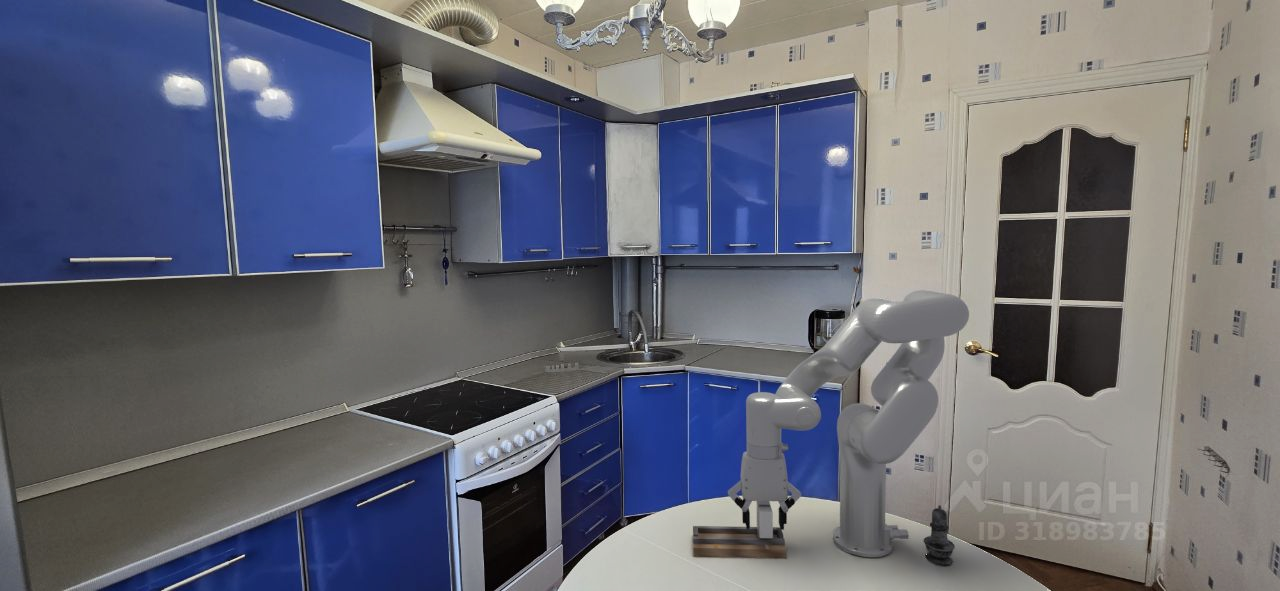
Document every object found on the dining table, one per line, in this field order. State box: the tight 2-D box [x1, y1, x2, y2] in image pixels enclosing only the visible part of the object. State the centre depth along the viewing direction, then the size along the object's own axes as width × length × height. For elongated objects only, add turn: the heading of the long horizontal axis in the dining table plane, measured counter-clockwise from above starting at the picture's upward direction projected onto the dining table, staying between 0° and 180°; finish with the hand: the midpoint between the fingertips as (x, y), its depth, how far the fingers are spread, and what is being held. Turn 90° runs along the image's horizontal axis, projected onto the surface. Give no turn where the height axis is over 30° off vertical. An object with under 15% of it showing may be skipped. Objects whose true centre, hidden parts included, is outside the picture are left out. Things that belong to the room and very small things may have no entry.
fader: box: [756, 501, 774, 538], centre depth 125 cm, size 3×6×8 cm, turn 175°
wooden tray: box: [692, 525, 787, 560], centre depth 125 cm, size 20×9×4 cm, turn 85°
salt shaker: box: [923, 504, 956, 567], centre depth 118 cm, size 6×6×12 cm
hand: (764, 525), depth 125 cm, fingers open, 6 cm apart
